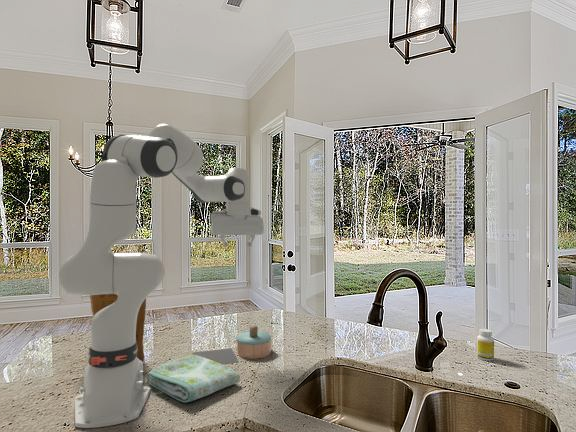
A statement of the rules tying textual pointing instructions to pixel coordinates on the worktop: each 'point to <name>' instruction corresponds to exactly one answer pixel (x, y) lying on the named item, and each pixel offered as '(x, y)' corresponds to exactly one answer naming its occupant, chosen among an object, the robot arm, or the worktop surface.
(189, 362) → the towel
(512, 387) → the worktop surface
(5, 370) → the worktop surface
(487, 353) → the supplement bottle
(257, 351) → the bowl
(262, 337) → the lid
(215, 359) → the mat
